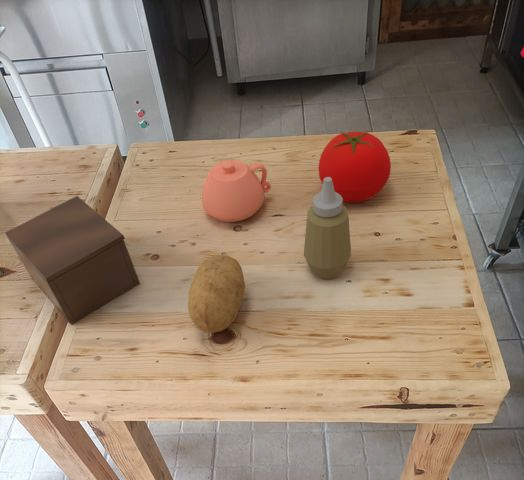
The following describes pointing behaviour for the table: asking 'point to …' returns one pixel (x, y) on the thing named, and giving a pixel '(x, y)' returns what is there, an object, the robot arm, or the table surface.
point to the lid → (63, 237)
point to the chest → (88, 282)
